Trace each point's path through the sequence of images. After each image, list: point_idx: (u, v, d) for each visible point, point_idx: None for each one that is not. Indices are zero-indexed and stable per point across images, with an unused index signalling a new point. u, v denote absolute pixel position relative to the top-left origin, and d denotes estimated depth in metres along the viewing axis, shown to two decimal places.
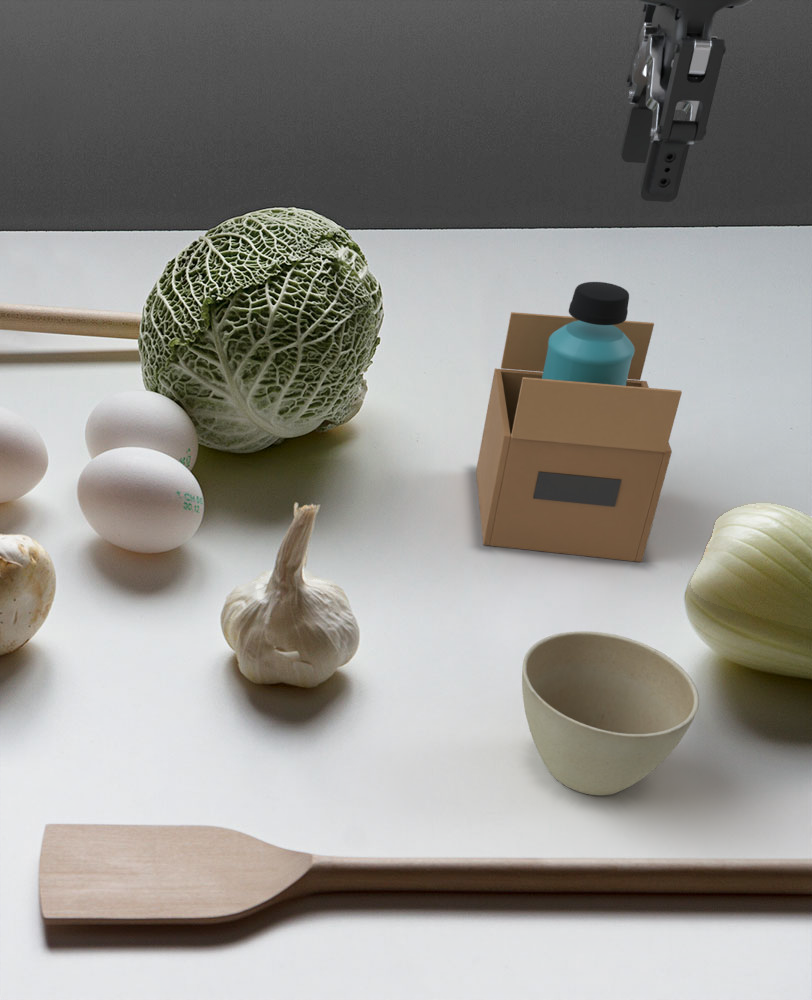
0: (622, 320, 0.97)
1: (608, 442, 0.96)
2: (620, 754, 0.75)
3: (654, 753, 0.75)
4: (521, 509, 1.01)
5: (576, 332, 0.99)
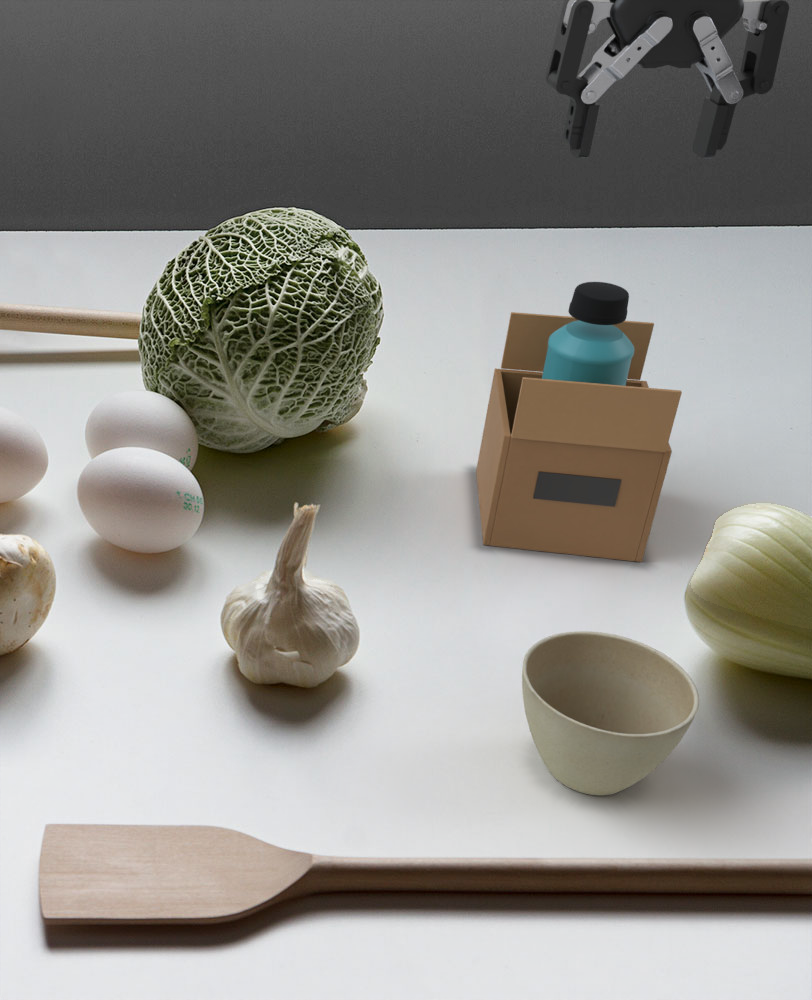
0: (622, 320, 0.97)
1: (608, 442, 0.96)
2: (620, 754, 0.75)
3: (654, 753, 0.75)
4: (521, 509, 1.01)
5: (576, 332, 0.99)
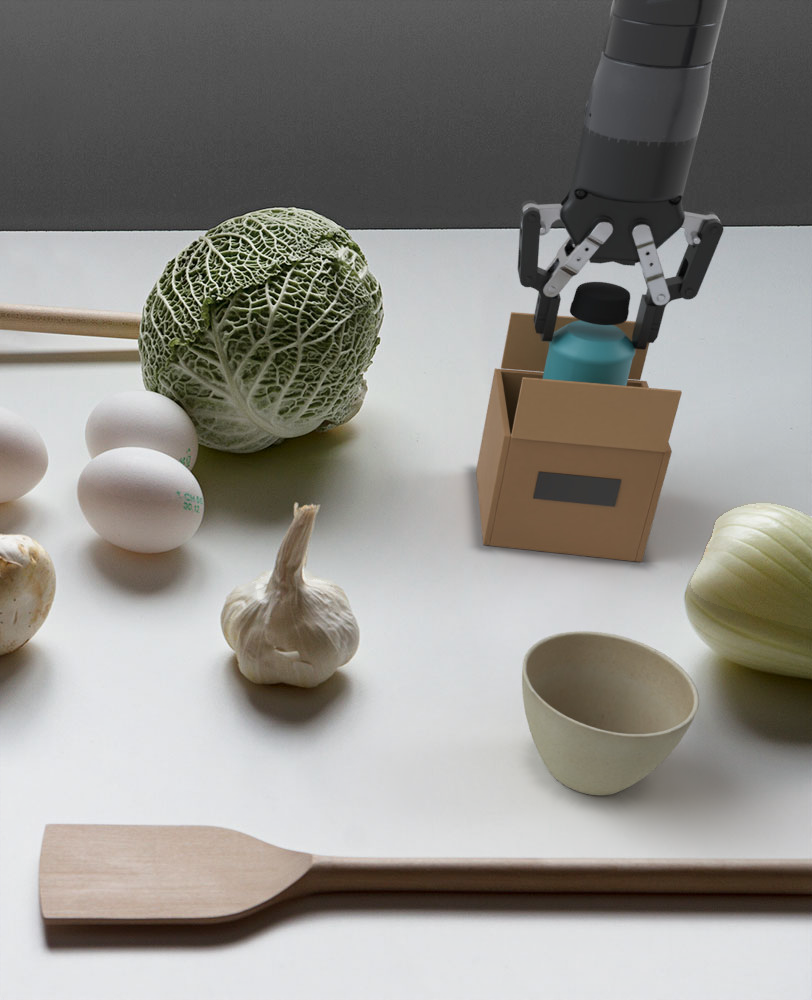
0: (623, 320, 0.97)
1: (608, 442, 0.96)
2: (620, 754, 0.75)
3: (654, 753, 0.75)
4: (521, 509, 1.01)
5: (577, 332, 0.99)
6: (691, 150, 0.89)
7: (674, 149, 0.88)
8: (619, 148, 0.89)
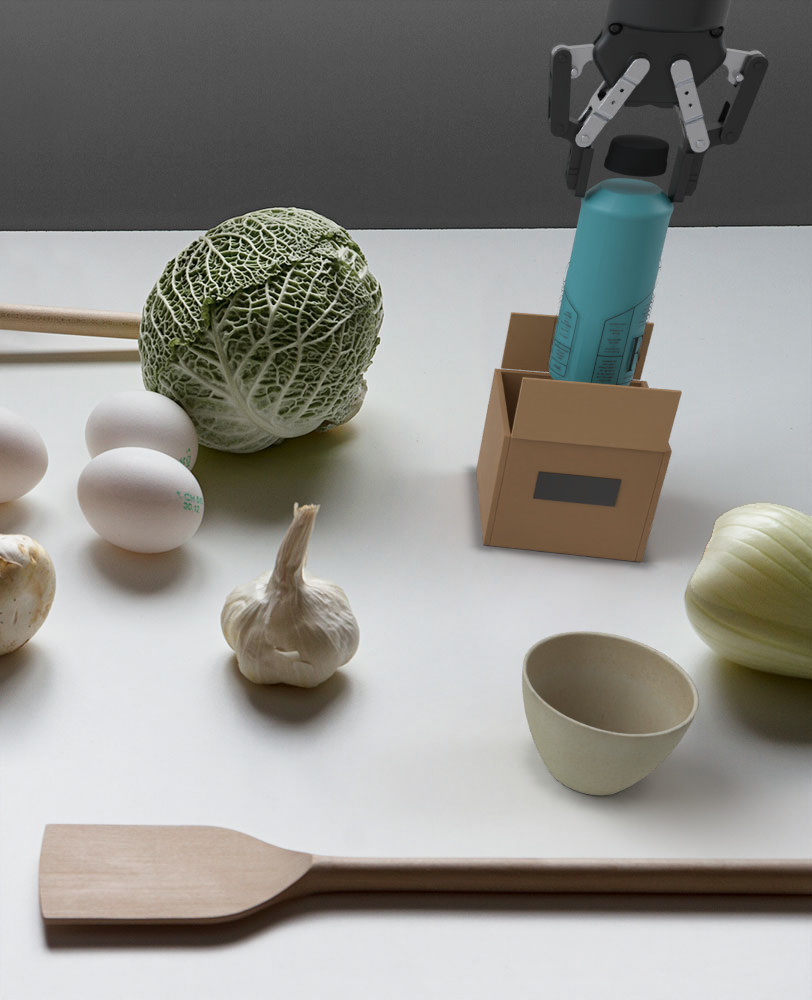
0: (661, 172, 0.91)
1: (608, 442, 0.96)
2: (620, 754, 0.75)
3: (654, 753, 0.75)
4: (521, 509, 1.01)
5: (611, 188, 0.93)
6: None
7: None
8: None
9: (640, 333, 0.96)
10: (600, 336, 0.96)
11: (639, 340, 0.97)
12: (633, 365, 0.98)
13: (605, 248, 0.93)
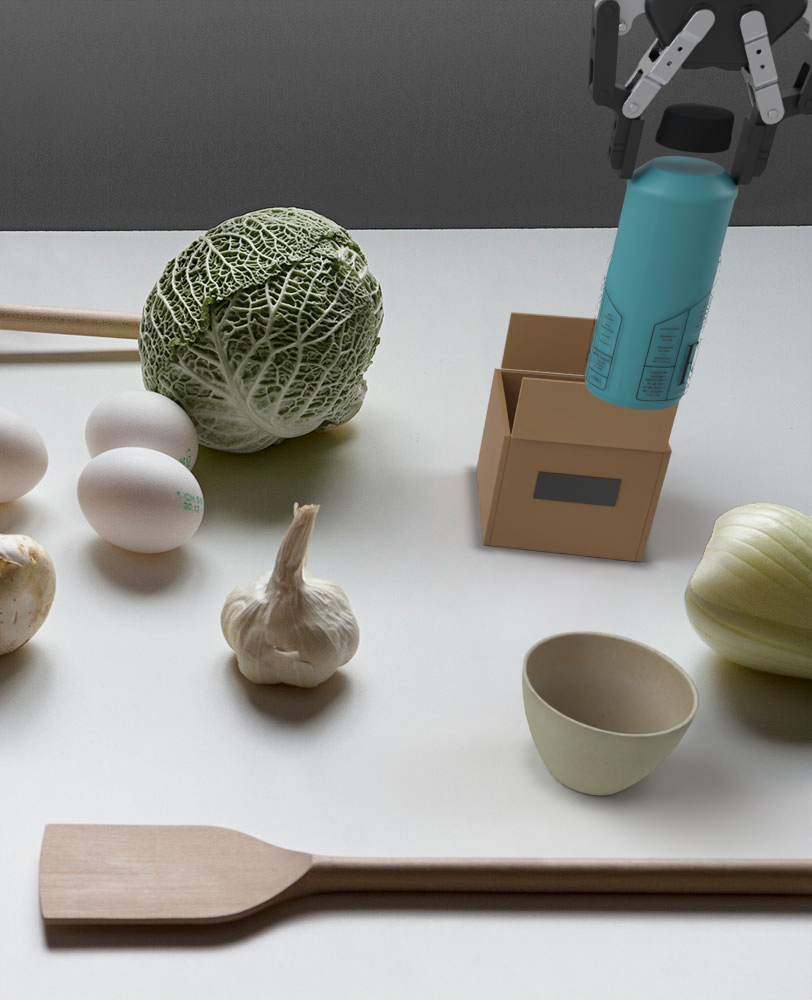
0: (725, 147, 0.76)
1: (608, 442, 0.96)
2: (620, 754, 0.75)
3: (654, 753, 0.75)
4: (521, 509, 1.01)
5: (664, 167, 0.78)
6: None
7: None
8: None
9: (695, 339, 0.82)
10: (648, 343, 0.81)
11: (694, 348, 0.82)
12: (686, 377, 0.83)
13: (656, 238, 0.78)
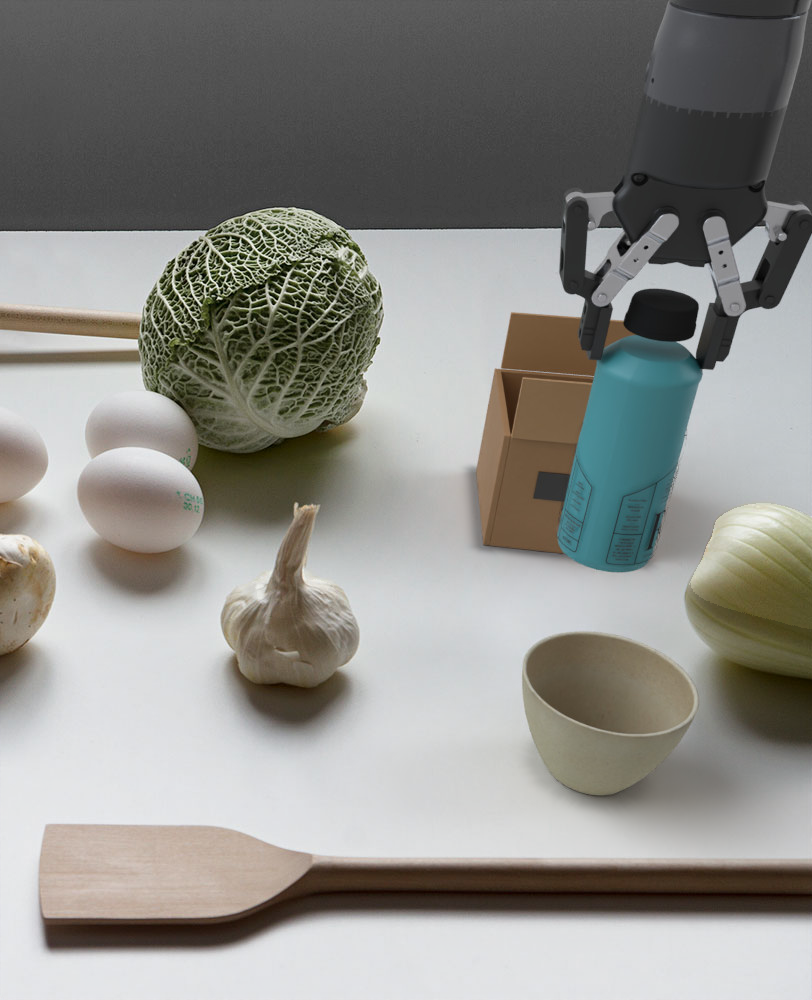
0: (690, 336, 0.79)
1: None
2: (620, 754, 0.75)
3: (654, 753, 0.75)
4: (521, 509, 1.01)
5: (632, 349, 0.81)
6: (780, 123, 0.71)
7: (759, 122, 0.70)
8: (690, 121, 0.71)
9: (662, 508, 0.85)
10: (617, 512, 0.84)
11: (661, 515, 0.85)
12: (654, 541, 0.86)
13: (624, 418, 0.81)
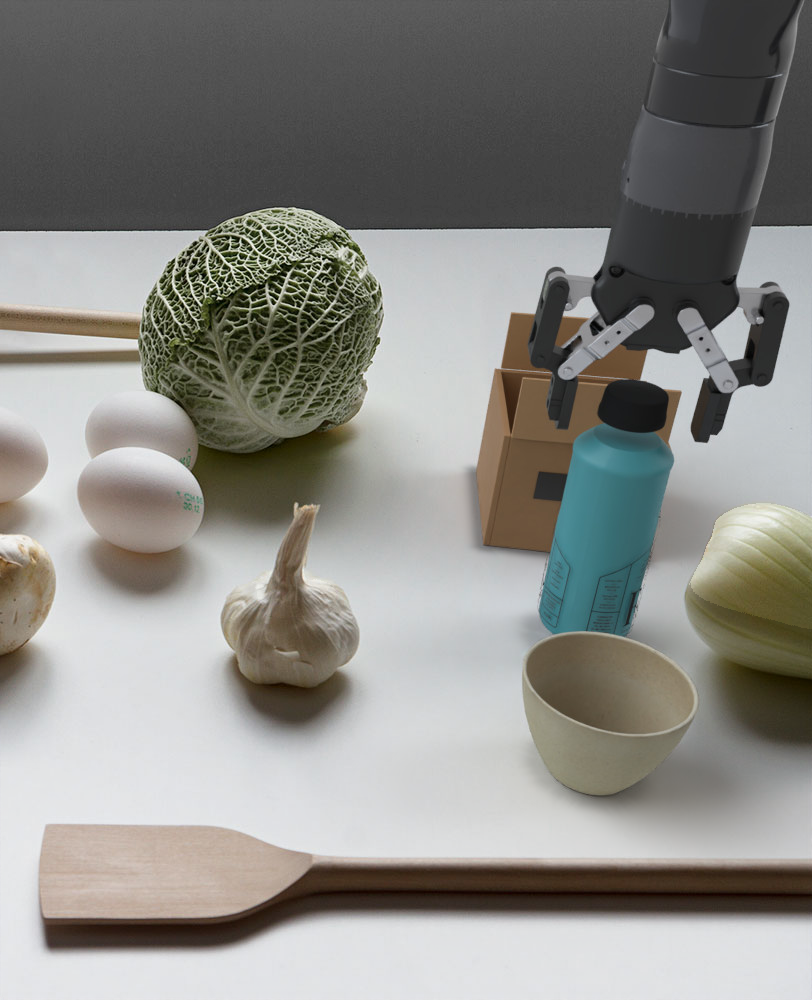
0: (660, 427, 0.82)
1: None
2: (620, 754, 0.75)
3: (654, 753, 0.75)
4: (521, 509, 1.01)
5: (606, 438, 0.84)
6: (750, 222, 0.74)
7: (730, 223, 0.73)
8: (664, 221, 0.74)
9: (638, 586, 0.88)
10: (594, 591, 0.88)
11: (637, 593, 0.88)
12: (631, 617, 0.90)
13: (599, 503, 0.85)
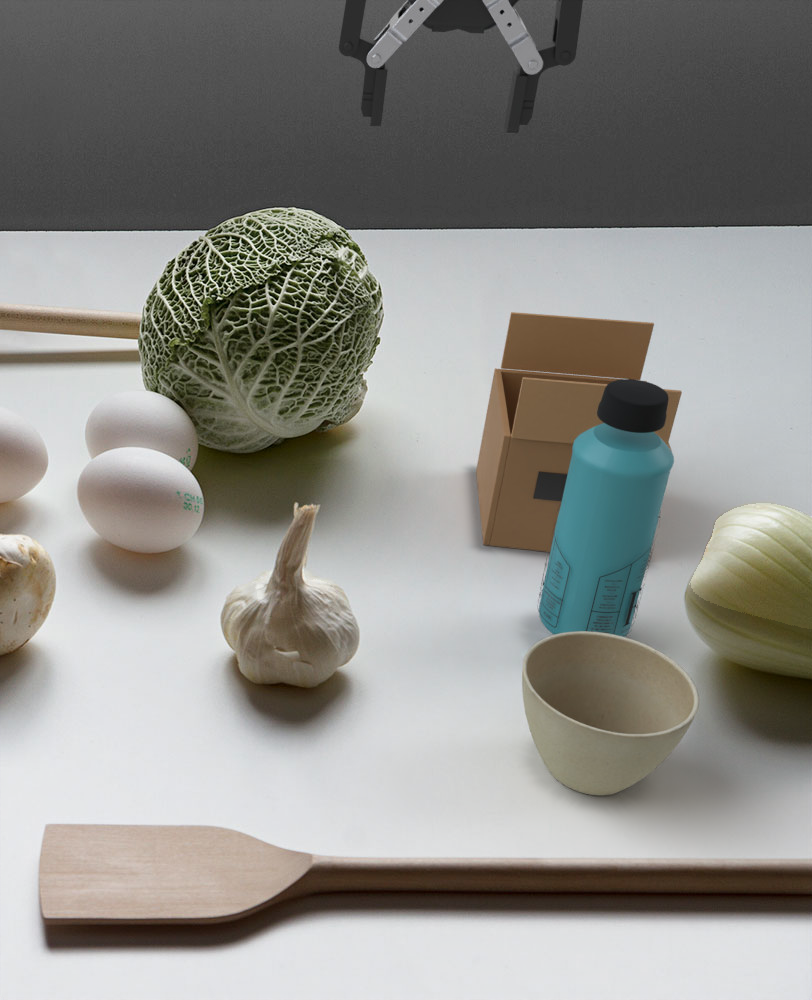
0: (660, 426, 0.82)
1: None
2: (620, 754, 0.75)
3: (654, 753, 0.75)
4: (521, 509, 1.01)
5: (606, 438, 0.84)
6: None
7: None
8: None
9: (638, 586, 0.88)
10: (594, 591, 0.88)
11: (637, 593, 0.88)
12: (631, 617, 0.90)
13: (599, 503, 0.85)
